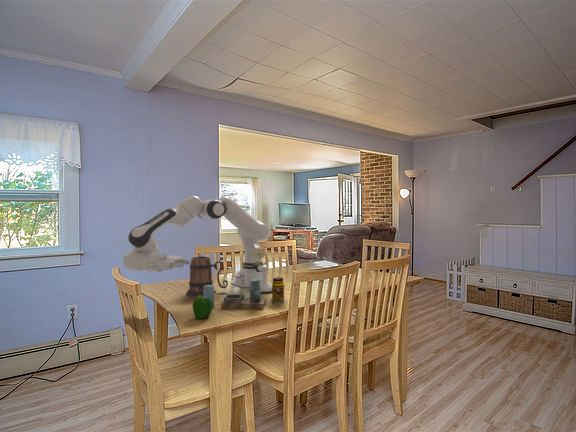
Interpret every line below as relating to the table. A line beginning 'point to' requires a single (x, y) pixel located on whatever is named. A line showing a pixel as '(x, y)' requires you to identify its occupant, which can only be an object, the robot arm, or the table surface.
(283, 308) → the table surface
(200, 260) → the tankard
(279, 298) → the condiment
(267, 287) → the flower in vase
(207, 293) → the column
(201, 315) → the bell pepper
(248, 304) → the base
